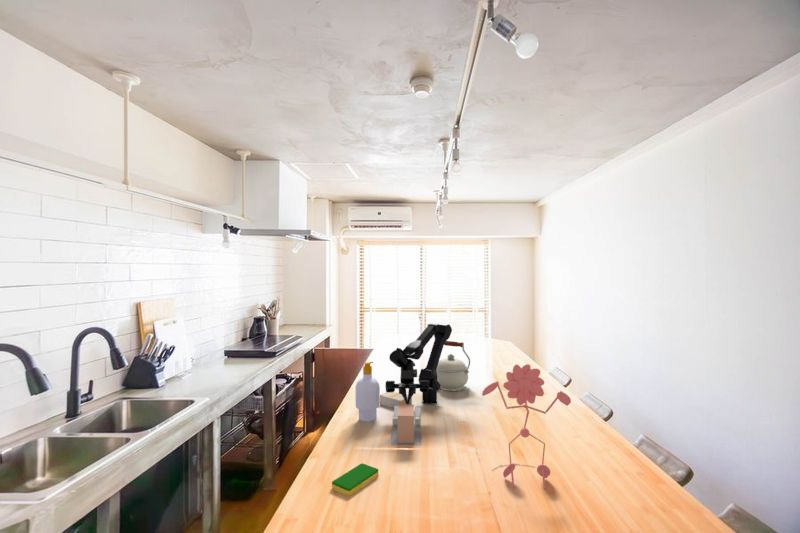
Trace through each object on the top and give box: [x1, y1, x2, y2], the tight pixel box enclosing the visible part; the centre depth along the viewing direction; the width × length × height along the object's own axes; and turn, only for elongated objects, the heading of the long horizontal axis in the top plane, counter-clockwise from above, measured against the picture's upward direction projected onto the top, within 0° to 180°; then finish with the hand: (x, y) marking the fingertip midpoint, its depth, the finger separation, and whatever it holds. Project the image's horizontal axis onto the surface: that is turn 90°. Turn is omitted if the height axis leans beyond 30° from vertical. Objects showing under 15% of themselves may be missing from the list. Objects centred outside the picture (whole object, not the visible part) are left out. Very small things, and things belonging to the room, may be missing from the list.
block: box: [398, 404, 415, 443], centre depth 152 cm, size 6×12×10 cm, turn 178°
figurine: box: [481, 363, 572, 490], centre depth 124 cm, size 15×26×35 cm, turn 84°
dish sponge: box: [331, 463, 379, 497], centre depth 121 cm, size 7×14×2 cm, turn 145°
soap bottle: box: [355, 361, 381, 422], centre depth 171 cm, size 10×10×24 cm
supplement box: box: [380, 391, 413, 409], centre depth 187 cm, size 8×5×13 cm
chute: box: [390, 405, 423, 446], centre depth 162 cm, size 11×34×3 cm, turn 178°
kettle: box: [436, 340, 471, 392], centre depth 216 cm, size 25×18×25 cm
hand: (407, 405), depth 167 cm, fingers closed
